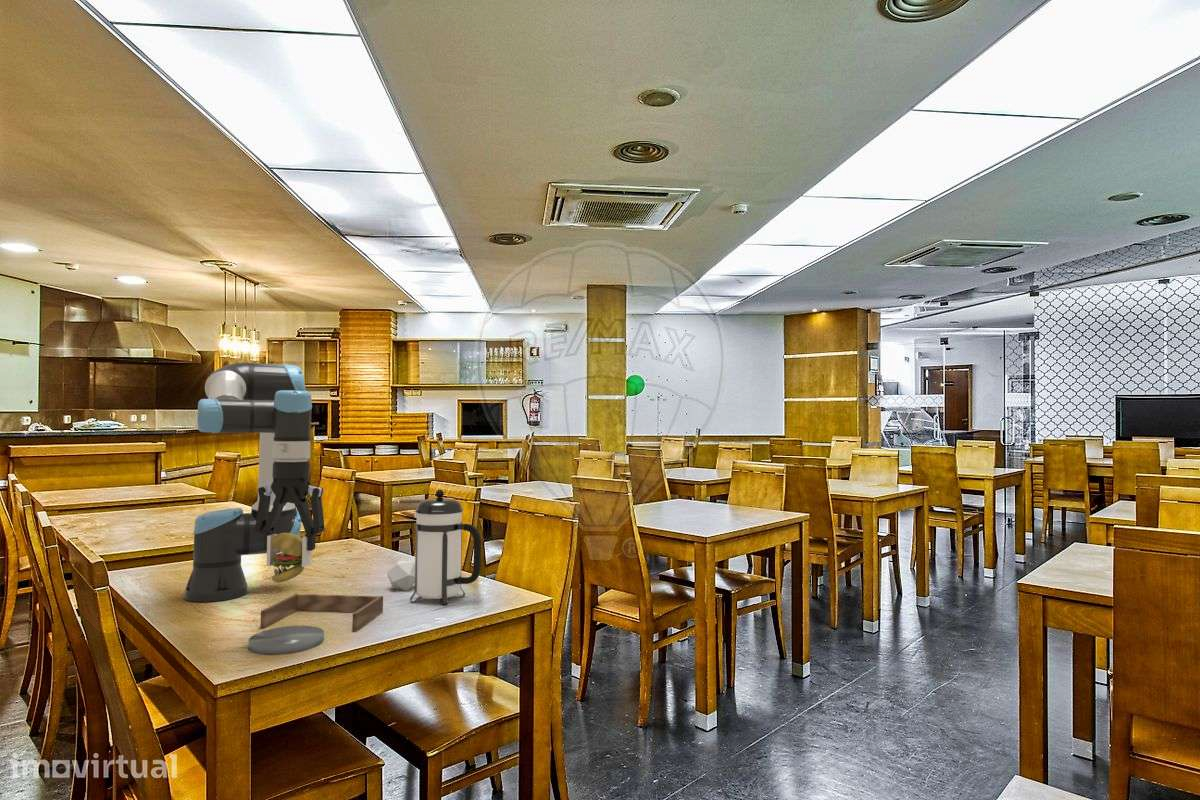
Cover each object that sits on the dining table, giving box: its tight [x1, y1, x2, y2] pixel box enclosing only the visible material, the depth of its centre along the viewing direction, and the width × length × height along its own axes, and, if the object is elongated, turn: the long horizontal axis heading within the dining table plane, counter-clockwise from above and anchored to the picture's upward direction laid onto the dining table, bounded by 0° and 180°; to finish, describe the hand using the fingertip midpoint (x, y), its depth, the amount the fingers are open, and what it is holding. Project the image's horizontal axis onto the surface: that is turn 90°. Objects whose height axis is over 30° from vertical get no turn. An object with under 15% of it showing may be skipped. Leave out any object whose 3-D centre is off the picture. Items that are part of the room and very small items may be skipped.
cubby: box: [259, 593, 384, 632], centre depth 166 cm, size 23×16×4 cm
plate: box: [247, 625, 325, 655], centre depth 149 cm, size 15×15×2 cm
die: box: [386, 560, 415, 591], centre depth 198 cm, size 8×9×10 cm
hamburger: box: [271, 527, 305, 583], centre depth 149 cm, size 8×7×12 cm
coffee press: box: [409, 489, 482, 607], centre depth 187 cm, size 17×16×30 cm
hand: (289, 565), depth 149 cm, fingers closed on hamburger, 7 cm apart
